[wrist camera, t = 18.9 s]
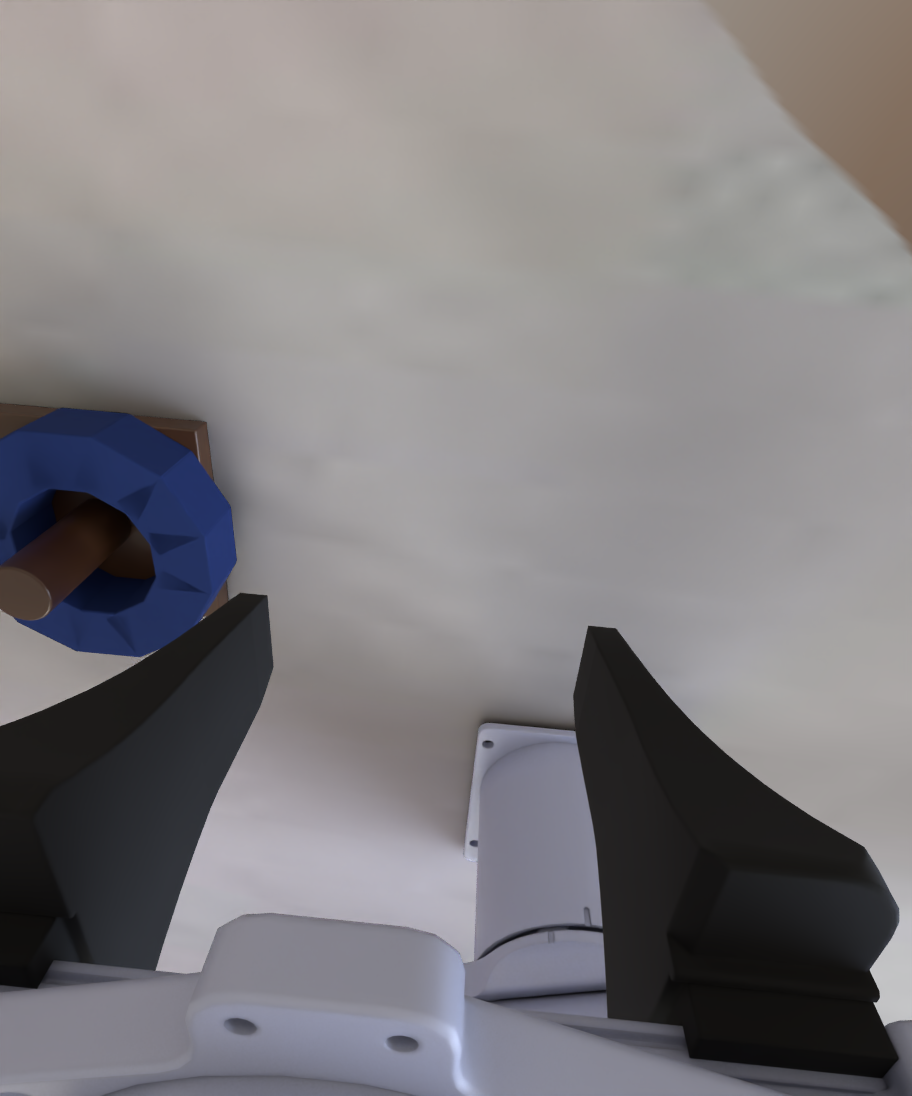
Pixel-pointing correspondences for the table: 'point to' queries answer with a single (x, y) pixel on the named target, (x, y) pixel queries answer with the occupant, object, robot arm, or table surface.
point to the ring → (149, 502)
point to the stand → (84, 532)
